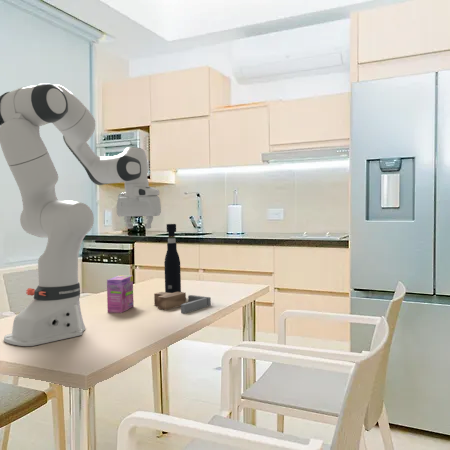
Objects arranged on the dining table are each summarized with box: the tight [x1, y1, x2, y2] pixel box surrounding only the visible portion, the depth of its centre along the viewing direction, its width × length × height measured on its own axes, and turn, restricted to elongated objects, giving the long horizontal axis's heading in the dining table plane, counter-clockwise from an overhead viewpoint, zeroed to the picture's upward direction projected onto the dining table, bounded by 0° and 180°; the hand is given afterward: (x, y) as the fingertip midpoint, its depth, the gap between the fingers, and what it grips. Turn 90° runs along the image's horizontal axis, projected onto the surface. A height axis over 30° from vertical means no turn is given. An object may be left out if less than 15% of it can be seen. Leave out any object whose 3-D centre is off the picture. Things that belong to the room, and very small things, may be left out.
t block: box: [153, 291, 187, 311], centre depth 168 cm, size 9×11×4 cm
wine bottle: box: [163, 223, 182, 293], centre depth 183 cm, size 6×6×30 cm
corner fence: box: [180, 294, 212, 314], centre depth 163 cm, size 15×10×3 cm, turn 145°
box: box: [106, 274, 135, 314], centre depth 163 cm, size 10×6×12 cm, turn 168°
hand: (139, 228), depth 169 cm, fingers open, 8 cm apart
